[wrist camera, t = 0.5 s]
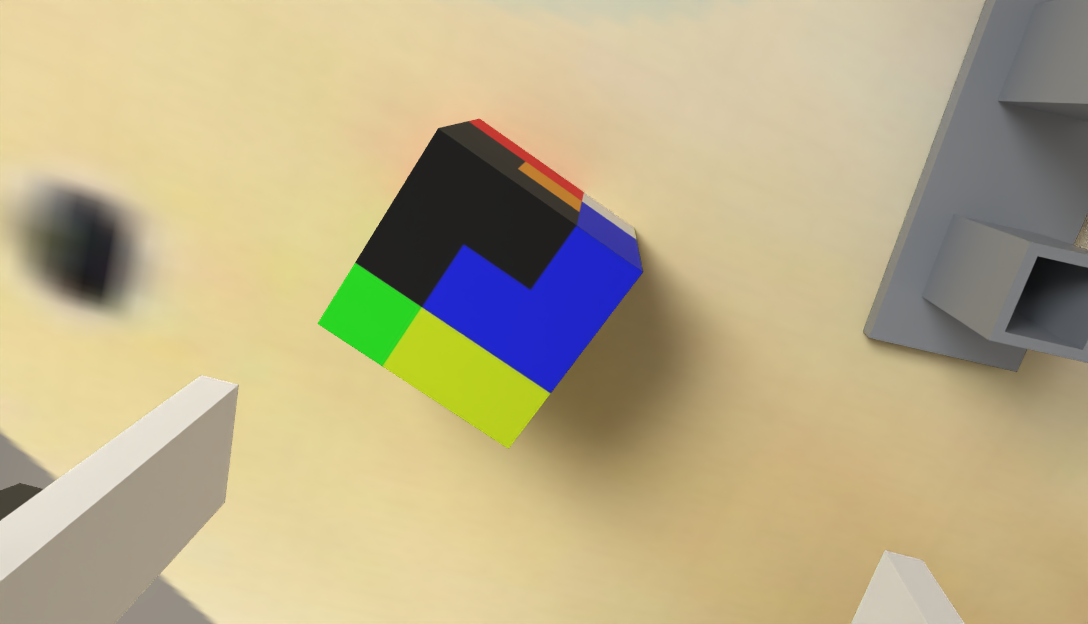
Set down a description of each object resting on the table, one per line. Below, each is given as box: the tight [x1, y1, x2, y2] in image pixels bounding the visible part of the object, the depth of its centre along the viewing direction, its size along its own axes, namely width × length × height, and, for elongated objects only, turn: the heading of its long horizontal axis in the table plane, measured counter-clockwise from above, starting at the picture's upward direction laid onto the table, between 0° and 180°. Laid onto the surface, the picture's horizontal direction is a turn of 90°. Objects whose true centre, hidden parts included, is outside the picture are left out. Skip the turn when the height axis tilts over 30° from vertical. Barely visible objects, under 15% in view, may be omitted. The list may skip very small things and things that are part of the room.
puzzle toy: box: [318, 119, 643, 449], centre depth 36 cm, size 10×10×10 cm
